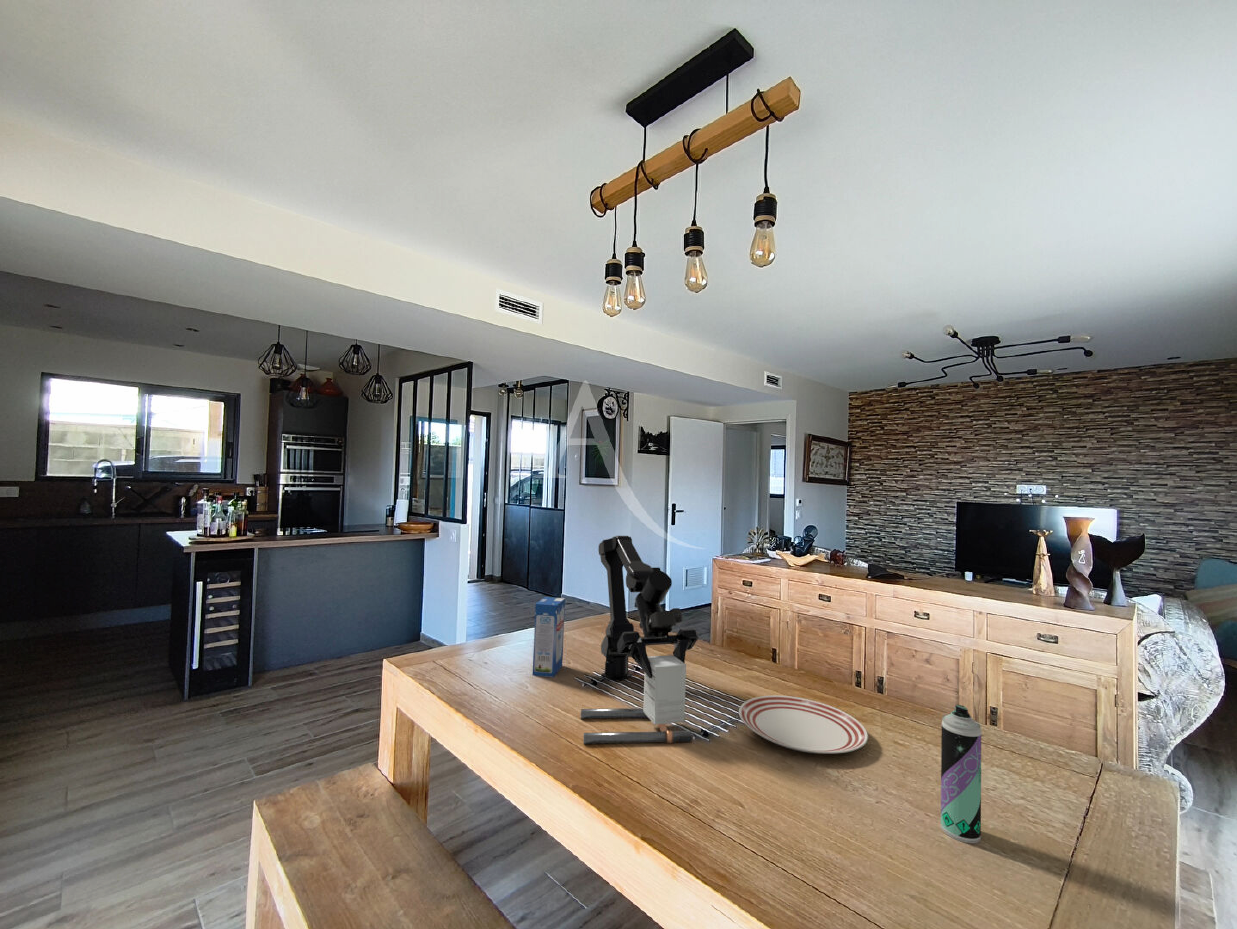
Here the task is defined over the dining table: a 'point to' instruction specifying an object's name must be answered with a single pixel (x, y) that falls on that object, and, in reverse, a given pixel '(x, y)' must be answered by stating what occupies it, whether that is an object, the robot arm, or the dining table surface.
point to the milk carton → (548, 636)
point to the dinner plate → (803, 724)
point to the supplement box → (665, 690)
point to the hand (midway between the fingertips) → (667, 676)
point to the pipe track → (630, 737)
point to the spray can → (961, 776)
